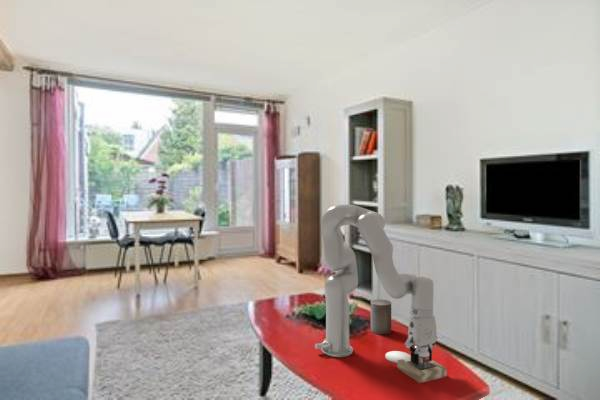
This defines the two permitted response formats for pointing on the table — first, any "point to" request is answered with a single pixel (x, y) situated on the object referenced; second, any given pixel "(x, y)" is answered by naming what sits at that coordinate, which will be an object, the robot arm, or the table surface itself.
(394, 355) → the felt mat
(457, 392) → the table surface
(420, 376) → the socket block
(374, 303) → the pillar candle
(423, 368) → the pill bottle
